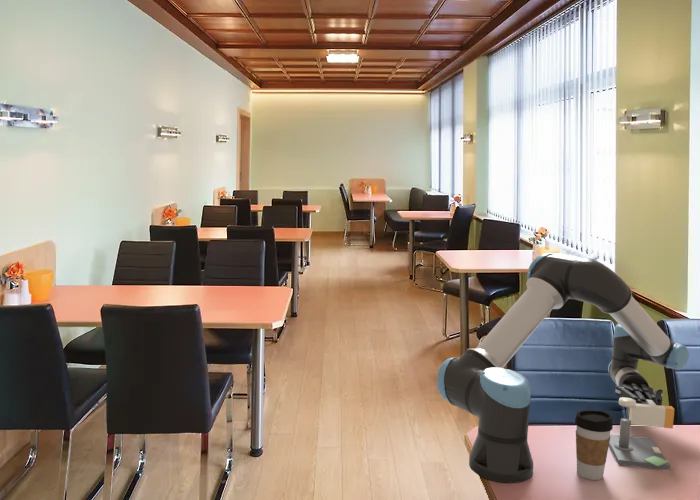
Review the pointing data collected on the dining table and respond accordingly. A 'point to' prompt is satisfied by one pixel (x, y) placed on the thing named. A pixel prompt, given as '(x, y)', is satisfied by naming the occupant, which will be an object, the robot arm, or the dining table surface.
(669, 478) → the dining table surface
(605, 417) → the coffee cup
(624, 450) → the tuner board
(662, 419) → the orange tipped swivel lever
